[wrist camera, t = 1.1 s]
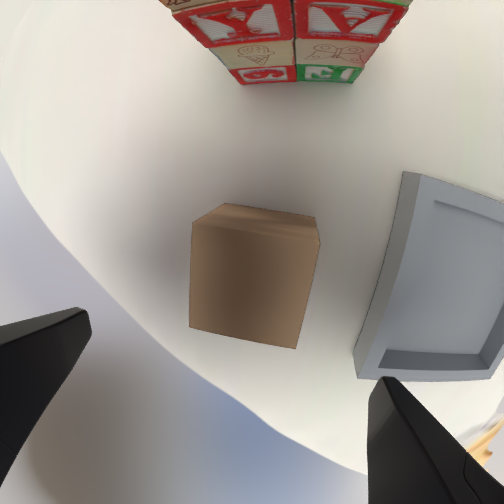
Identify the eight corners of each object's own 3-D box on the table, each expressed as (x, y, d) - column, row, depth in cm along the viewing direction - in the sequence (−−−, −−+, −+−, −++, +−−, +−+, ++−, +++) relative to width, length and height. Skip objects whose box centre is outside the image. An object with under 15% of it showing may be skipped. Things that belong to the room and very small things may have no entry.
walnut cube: (314, 216, 15) (320, 243, 10) (298, 298, 17) (295, 349, 12) (225, 202, 16) (192, 222, 11) (218, 283, 17) (189, 327, 13)
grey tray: (532, 219, 12) (553, 228, 9) (478, 360, 16) (489, 379, 13) (403, 171, 13) (421, 174, 11) (352, 353, 17) (357, 378, 15)
